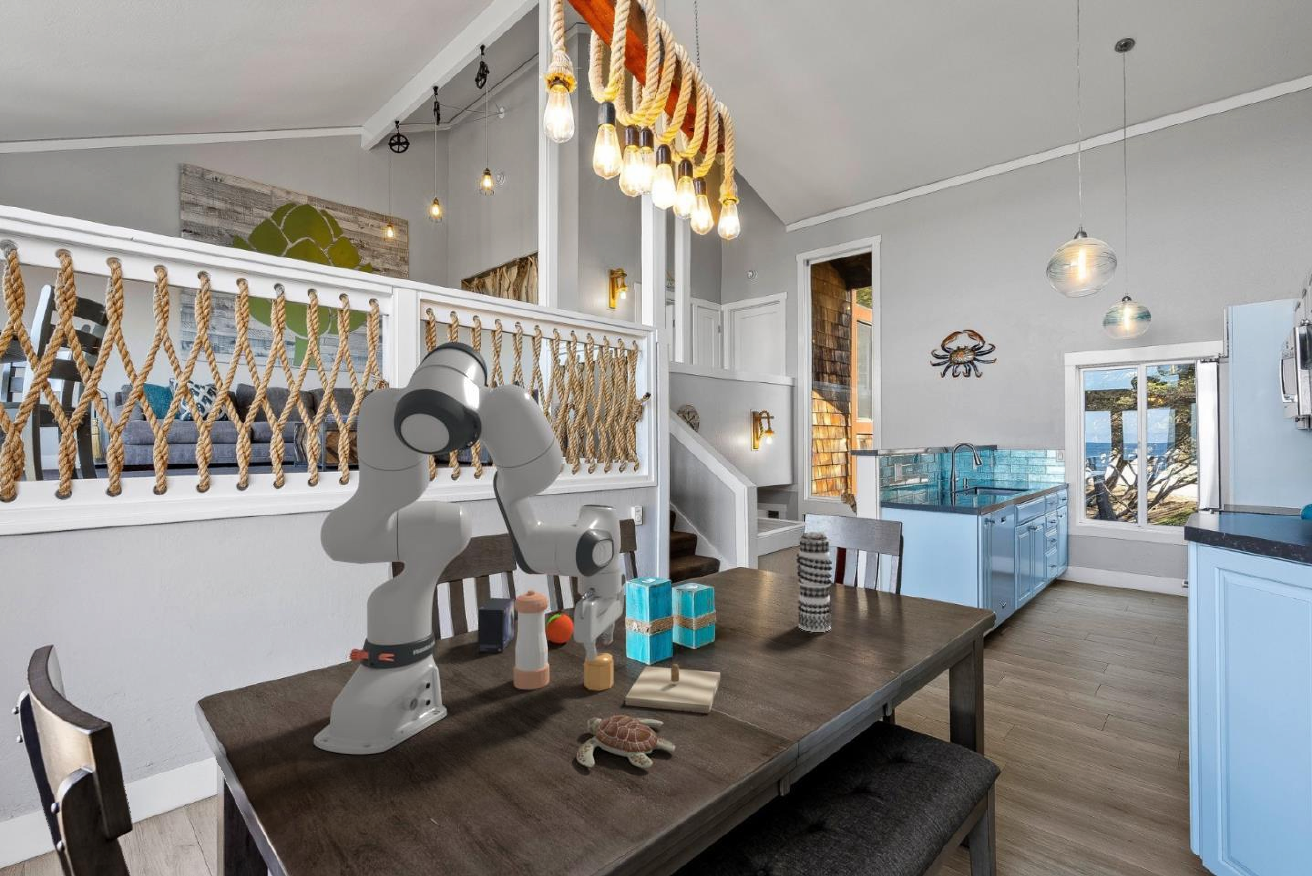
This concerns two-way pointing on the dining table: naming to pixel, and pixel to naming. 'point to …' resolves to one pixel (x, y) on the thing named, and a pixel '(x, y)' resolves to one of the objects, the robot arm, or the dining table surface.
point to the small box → (495, 625)
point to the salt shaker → (531, 642)
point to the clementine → (559, 628)
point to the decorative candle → (814, 582)
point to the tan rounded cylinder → (599, 672)
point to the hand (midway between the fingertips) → (599, 650)
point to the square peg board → (674, 689)
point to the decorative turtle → (623, 739)
